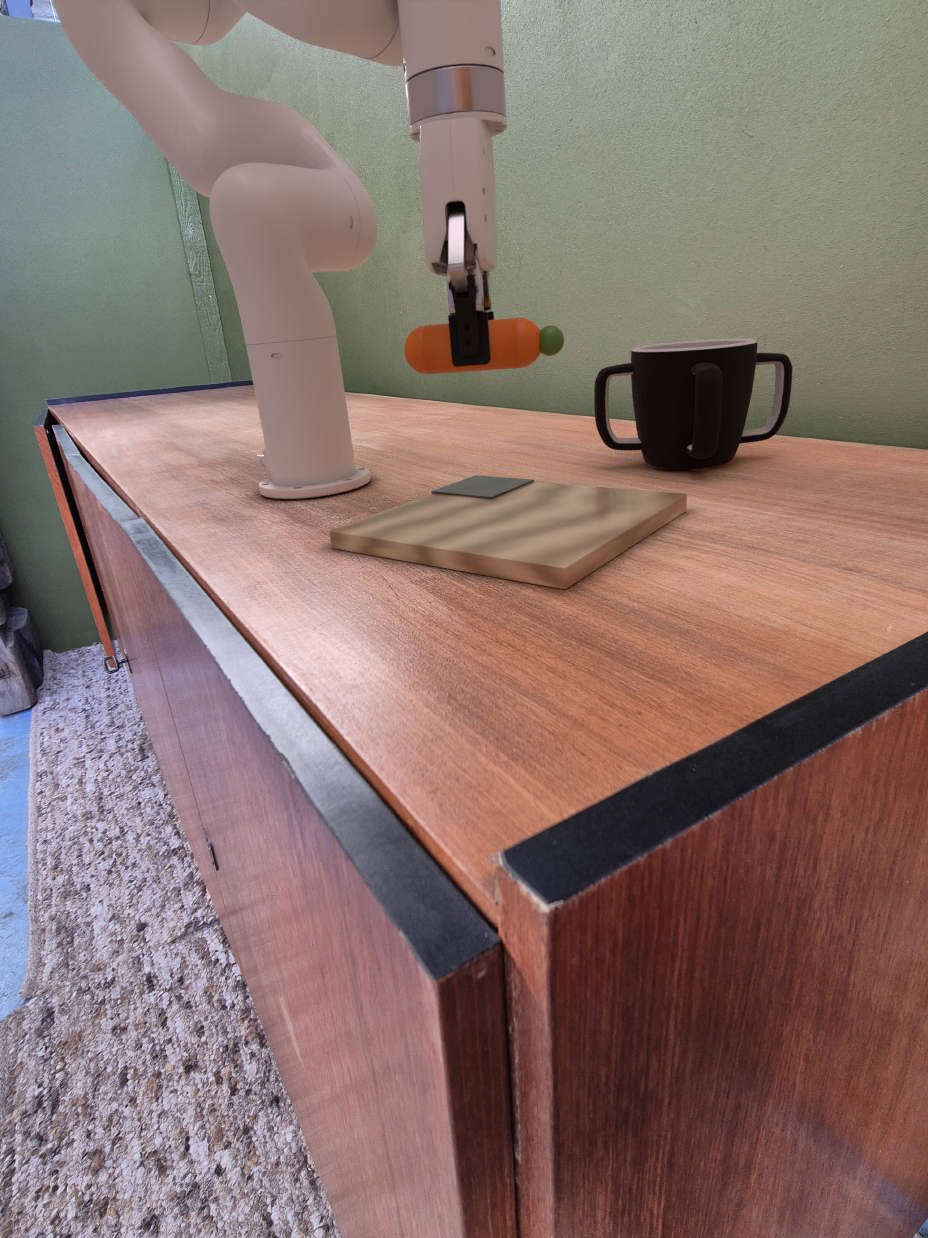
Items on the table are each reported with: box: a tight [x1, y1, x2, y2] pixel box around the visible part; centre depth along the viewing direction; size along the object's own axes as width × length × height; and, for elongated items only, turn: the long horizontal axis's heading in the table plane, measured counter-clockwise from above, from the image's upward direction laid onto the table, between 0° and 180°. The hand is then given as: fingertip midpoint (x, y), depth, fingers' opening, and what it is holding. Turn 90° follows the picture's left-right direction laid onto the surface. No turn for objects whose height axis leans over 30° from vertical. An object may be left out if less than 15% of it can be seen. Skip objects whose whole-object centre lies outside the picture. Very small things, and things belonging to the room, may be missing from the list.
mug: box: [593, 338, 793, 471], centre depth 74 cm, size 16×16×12 cm
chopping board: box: [328, 474, 688, 590], centre depth 59 cm, size 22×20×2 cm
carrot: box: [403, 317, 565, 375], centre depth 61 cm, size 14×4×4 cm, turn 82°
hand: (475, 360), depth 62 cm, fingers closed on carrot, 4 cm apart
